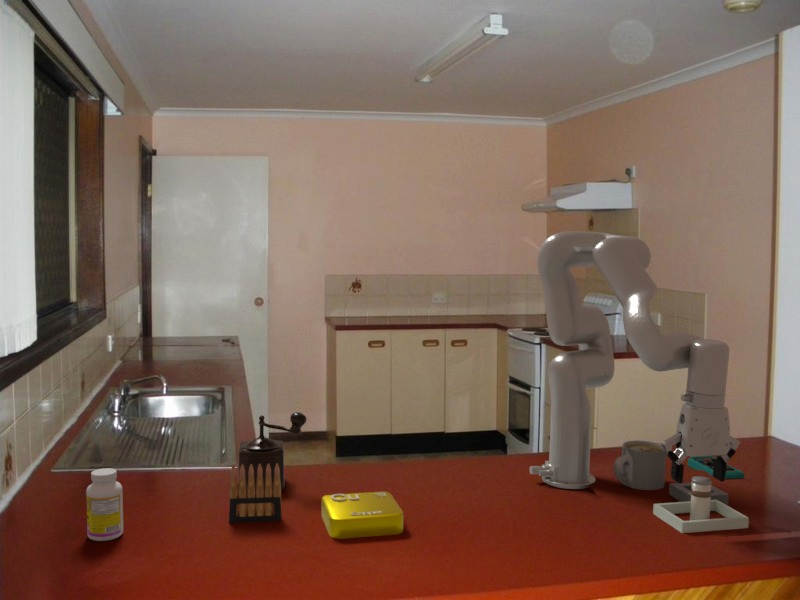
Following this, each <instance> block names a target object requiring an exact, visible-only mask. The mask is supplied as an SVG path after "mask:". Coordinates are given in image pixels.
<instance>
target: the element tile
mask: <svg viewBox="0 0 800 600" xmlns="http://www.w3.org/2000/svg"><path fill="white" fill-rule="evenodd" d="M321 518H322V521H323V523H324V526H325V528H326V530H327V534H328V535H329V537H330V538H332V539H339V540H340V539H342V540H343V539H344V540H345V539H354V538H366V537H368V538H369V537H381V536H382V537H383V536H394V535H400V534H402V533H403V532H404V510H402V508H401V507H400V505H399V504H398V502H397V500H396V499H395V498H394V496H393V495H392V494H391V493H390V492H388V491H373V492H371V491H370V492H355V493H354V492H353V493H335V494H325V495H324V496H322V497H321Z"/></svg>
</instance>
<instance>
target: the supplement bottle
mask: <svg viewBox="0 0 800 600" xmlns="http://www.w3.org/2000/svg"><path fill="white" fill-rule="evenodd" d="M117 477H118V473H117V470H116V468H110V467H108V468H107V467H106V468H104V467H103V468H99V469H95V470H93V471H91V472H90V479H91V481H92V483H91V484H89V485H88V486H87V488H86V490H85V491H86V492H85V497H86V531H87V532H86V533H87V537H88V539H90V540H91V541H94V542H95V541H96V542H106V541H107V542H108V541H113V540H115V539H118V538H119V537H120V536H122V534H123V533H124V501H123V500H124V499H123V497H124V496H123V485H122V484H121V483H120V482H119V481H117Z"/></svg>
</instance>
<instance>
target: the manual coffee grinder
mask: <svg viewBox="0 0 800 600" xmlns="http://www.w3.org/2000/svg"><path fill="white" fill-rule="evenodd" d="M258 419H259V420H258V425H259V436H258V437H256V438H254V439H251V440H242V441H240V444H239V449H238V477H239V476H240V468H241V465H242V464H243V465H244V468H245V478H246V486H247V484H248V473H249V467H250V465H251V464H252V465H253V469H254V480H255V493H256V482H257V470H258V466H259V464H261V466H262V471H263V482H264V485H265V477H266V467H267V464H268V463H269V465H270V468H271V477H272V490H273V482H274V470H275V466H276V463H278V465H279V469H280V481H281V491H284V490H285V484H286V483H285V481H286V480H285V457H284V456H285V455H284V454H285V444H284V441H283V440H275V439H271V438H269V437H266V436H265V433H264V431H265V430H264V427H266V428H269V429H275V430H280V431H285V432H288V433H291V434H293V435H297V434H301V433H302V427H303V426H304V425H305V424H306V423H307V416H306V415H305V414H303V413H302V412H300V411H299V412H298V411H296V412H293V413H292V414H291V415H290V418H289V419H290V422H291V426H290V427H287V426H283V425H277V424H272V423H271V424H270V423H266V421H265V416H264V415H259V417H258Z"/></svg>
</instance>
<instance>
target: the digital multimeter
mask: <svg viewBox="0 0 800 600" xmlns="http://www.w3.org/2000/svg"><path fill="white" fill-rule="evenodd" d="M715 458H716V457H715V456H710V457H689V458H687V466H688V467H689V468H691V469H693V470H695V471H703V472H704V473H707V474H709V475H710V476H712V477H713V467H714V460H715ZM729 479H733V480H734V479H743V480H744V479H745V473H744V472H743V471H741V470H739V469H738V468H735V467H733V466H731V465H729V464H727V465H726V475H725V480H729Z"/></svg>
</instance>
